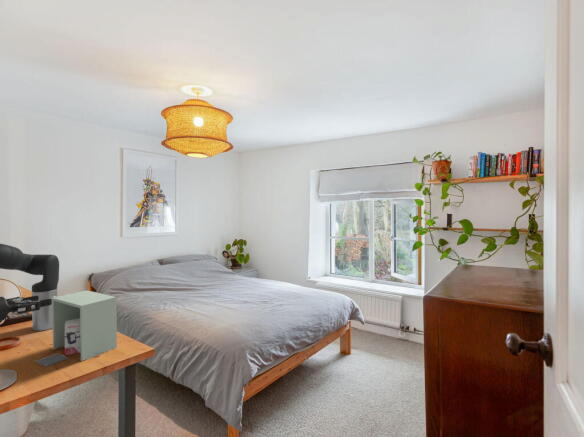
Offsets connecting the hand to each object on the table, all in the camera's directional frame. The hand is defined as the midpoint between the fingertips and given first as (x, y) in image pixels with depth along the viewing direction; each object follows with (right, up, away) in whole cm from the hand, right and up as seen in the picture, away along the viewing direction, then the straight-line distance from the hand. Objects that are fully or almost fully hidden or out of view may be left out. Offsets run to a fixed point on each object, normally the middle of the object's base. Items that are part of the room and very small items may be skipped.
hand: (44, 300), depth 114 cm
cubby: (+6, -22, +13) cm, 26 cm away
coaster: (0, -22, +3) cm, 23 cm away
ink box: (+5, -22, +11) cm, 25 cm away
